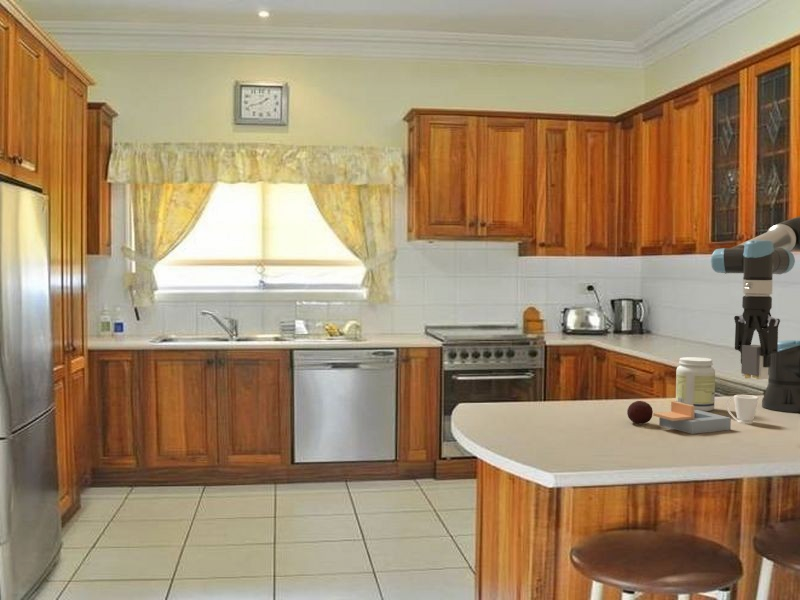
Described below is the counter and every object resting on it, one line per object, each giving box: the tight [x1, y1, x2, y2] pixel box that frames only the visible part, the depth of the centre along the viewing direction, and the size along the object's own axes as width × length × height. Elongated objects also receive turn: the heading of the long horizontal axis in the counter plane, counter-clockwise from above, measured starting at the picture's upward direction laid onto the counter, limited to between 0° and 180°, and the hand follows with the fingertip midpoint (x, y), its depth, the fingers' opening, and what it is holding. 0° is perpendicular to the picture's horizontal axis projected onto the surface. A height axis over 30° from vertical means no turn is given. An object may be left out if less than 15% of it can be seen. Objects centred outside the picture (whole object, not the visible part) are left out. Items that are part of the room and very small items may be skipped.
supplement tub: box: [675, 356, 716, 412], centre depth 257 cm, size 12×12×17 cm
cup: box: [726, 394, 759, 425], centre depth 237 cm, size 7×10×8 cm
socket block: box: [659, 410, 732, 435], centre depth 228 cm, size 15×13×4 cm
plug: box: [740, 344, 769, 380], centre depth 217 cm, size 5×5×9 cm
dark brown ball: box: [626, 400, 654, 425], centre depth 232 cm, size 7×8×7 cm
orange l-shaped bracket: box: [652, 400, 695, 421], centre depth 225 cm, size 8×8×4 cm
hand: (754, 377), depth 217 cm, fingers closed on plug, 5 cm apart
